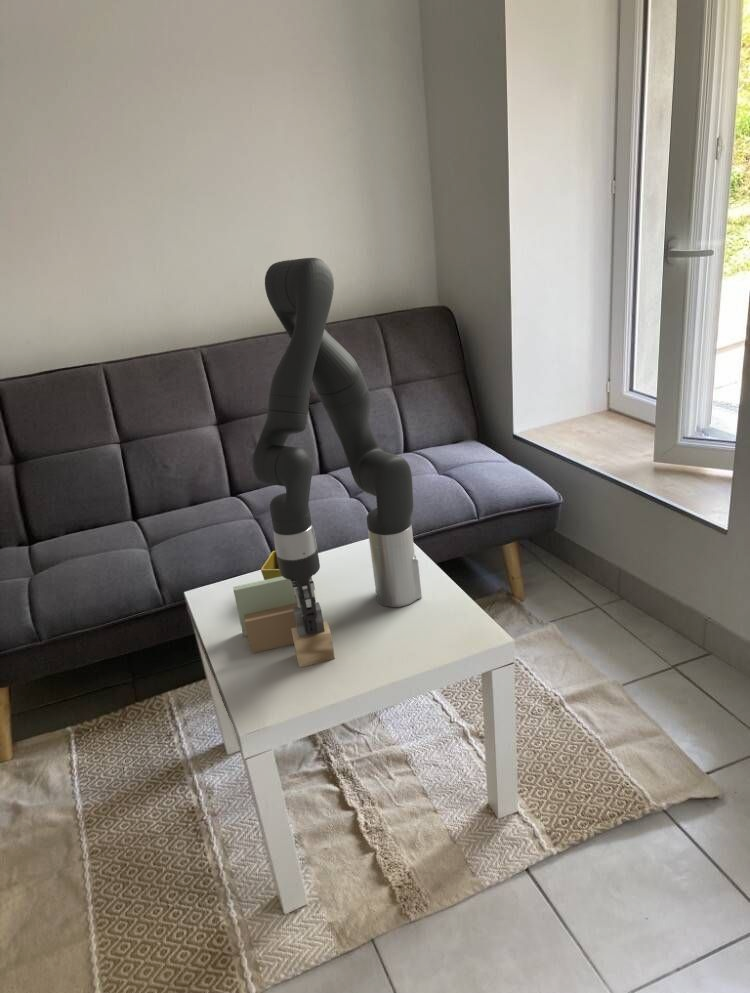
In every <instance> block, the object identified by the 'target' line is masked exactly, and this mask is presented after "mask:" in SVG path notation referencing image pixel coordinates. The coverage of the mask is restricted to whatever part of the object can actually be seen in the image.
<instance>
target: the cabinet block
mask: <svg viewBox="0 0 750 993" xmlns="http://www.w3.org/2000/svg"><path fill="white" fill-rule="evenodd" d="M315 605H316V613H317V618H315V619H316V625H317V632H316V633H313V634H306V631H305V626H304V620H303V617H302V615H301V614H302V612H301V608H299V607H294V608H293V611H294V616H295V622H296V628H292V629H291V630H292V636H293V641H294V644H293V645H294V652H295V656H296V660H297V664H298V667H299V668H301V667H306V666H311V665H313V664H314V665H315V664H318V663H319V664H320V663H323V662H328V661H331V660H334V659H336V657H335V651H334V646H333V639H332V632H331V630H330V627H329V624H328V621H327V620H324V619H323V613H322V607H321V605H320V603H319V601H318V602H317V601H316V604H315Z"/></svg>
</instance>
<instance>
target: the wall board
mask: <svg viewBox="0 0 750 993" xmlns="http://www.w3.org/2000/svg"><path fill="white" fill-rule="evenodd" d="M232 588H233V594H234V598H235V605H236V608H237V613H238V617H239V623H240V627H241V631H242V632H241V633H242V636H243V637H246V636H247V638H248V639H247V640H248V644H249V648H250V653H251V654H255V653H259V652H263V651H268V650H272V649H276V648H280V647H286V646H289V645H292V644H293V645H294V641H293V636H292V630H291V629H292V628H296V622H295V616H294V611H293V608H294V607H298V605H297V600H296V598H295V595H294V591H293V588H292V584H291V580H289V579H286V578H284V577H283V576H281V577H277V578H272V579H267V580H264V579H262V580H260V581H255V582H249V583H245V584H242V585H241V584H240V585H236V586H232ZM311 597H312V596H311Z"/></svg>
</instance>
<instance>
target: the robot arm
mask: <svg viewBox="0 0 750 993" xmlns="http://www.w3.org/2000/svg"><path fill="white" fill-rule="evenodd" d="M334 284H335V283H334V276H333V273H332V270H331V268H330V266H329V265H328V264H327V263H326V262H325V261H324V260H322V259H321V258H317V257H304V258H298V259H297V258H295V259H288V260H286V259H285V260H281V261H276V262H275V263H273V264H271V265H270V266H269V267H268V269H267V271H266V272H265V276H264V289H265V294H266V297H267V300H268V302H269V304H270V306H271V309H273V312H274V314H276V317H277V318H278V320H279V321H280V324H281V325H282V326H283V328H284V330H285V331H286V333H287V335H288V337H289V338H290V341H289V343H288V345H287V347H286V350H285V352H284V353H283V355H282V357H281V359H280V360H279V362H278V365H277V367H276V369H275V371H274V374H273V377H272V379H271V382H270V383H271V384H270V388H269V395H268V403H267V404H268V405H267V406H268V407H267V415H266V419H265V423H264V426H263V427H262V431H261V433H260V436H259V439H258V441H257V443H256V446H255V449H254V452H253V456H252V462H251V463H252V464H251V466H252V471H253V474H254V476H255V478H256V479H257V480H258V481H259V482H260V483H262V484H265V485H266V484H267V485H270V486H271V485H273V486H279V487H284V488H285V493H281V494H278V495H276V496H274V497H273V498H272V499H271V501H270V503H269V514H270V518H271V524H272V529H273V542H274V548H275V551H276V554H277V559H278V564H279V570H280V574H281V575H282V576H283V577H284V578H286V579H289V580H291V584H292V588H293V591H294V595H295V598H296V600H297V605H298V607H299V608H301V612H302V614H301V615H302V617H303V620H304V626H305V631H306V634H313V633H316V632H317V625H316V619H315V618H317V613H316V605H315V604H316V602H317V600H316V594H315V591H316V590H315V589H316V588H315V586H316V585H315V582H314V580H313V577H312V576H315V575H316V574H317V573H318V572H319V570H320V568H321V563H320V558H319V551H318V545H317V540H316V534H315V530H314V526H313V524H312V523H313V522H312V516H311V511H310V505H309V504H310V503H309V502H310V494H311V484H312V476H313V462H312V460H311V457H310V456H309V453H307V451H306V450H305V449H303V448H301V447H297V446H290V445H289V446H288V445H285V444H286V443H287V442H286V441H287V439H288V438H289V436H290V435H293V434H299V433H301V432H304V431H305V430H306V427H307V423H308V415H309V407H310V398H311V388H312V384H313V386H314V389H315V392H316V393H317V396H318V398H319V400H320V402H321V404H322V406H323V408H324V411H325V412H326V413H327V416H328V418H329V419H330V422H331V425H332V427H333V429H334V431H335V434H337V437H338V439H339V441H340V444H341V446H342V448H343V451H344V455H345V459H346V461H347V464H348V466H349V470H350V473H351V475H352V479H353V481H354V482H355V484H356V486H357V487H358V488H359V489H360V490H361V491H363V492H364V493H367V494H369V495H371V496H375V498H376V507H374V508H373V509H371V510H370V511H369V512H368V514H367V516H366V526H367V532H368V540H369V549H370V555H371V556H370V557H371V564H372V572H373V579H374V586H375V595H376V600H377V602H378V603H379V604H381V605H382V606H385V607H390V608H400V607H405V606H408V605H410V604H413V603H414V602H415V601H417V600H419V599H422V598H423V596H422V595H423V594H422V586H421V578H420V576H421V575H420V568H419V567H420V566H419V560H418V557H417V556H416V554H415V546H414V536H413V534H414V533H413V527H412V515H413V512H414V511H413V510H414V488H413V474H412V470H411V466H410V465H409V463H408V460H406V459H405V458H404V457H402V456H399V455H397V454H393V453H391V452H387V451H385V450H383V449H382V448H381V447H380V445H379V444H378V441H377V440H376V438H375V436H374V433H373V432H372V428H371V425H370V413H371V412H370V410H371V394H370V390H369V388H368V385H367V382H366V380H365V378H364V375H363V372H362V371H361V370H362V369H361V368H360V367H359V364H358V363H357V361H356V360H355V358H354V357H353V356H352V355H351V354H350V353H349V351H347V350H346V349H345V348H344V347H343V346H342V345H341V344H340V343H339V342H338V341H337V340H336V339H335V338H334V337H333V336H332V335H331V334H329V332H328V331H327V330H326V325H327V321H328V318H329V317H328V316H329V313H330V309H331V306H332V301H333V296H334ZM311 596H312V597H311Z"/></svg>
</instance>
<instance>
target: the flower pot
mask: <svg viewBox="0 0 750 993" xmlns="http://www.w3.org/2000/svg"><path fill="white" fill-rule="evenodd" d="M260 572H261V575H262V578H263V580H267V579H272V578H277V577H281V576H282V575H281V574H280V570H279V564H278V559H277V554H276V550H273V551H271V553H270V555H269V556H268V558H267V559H266V561H265V562H264V564H263V565H262V567H261V568H260Z"/></svg>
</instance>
